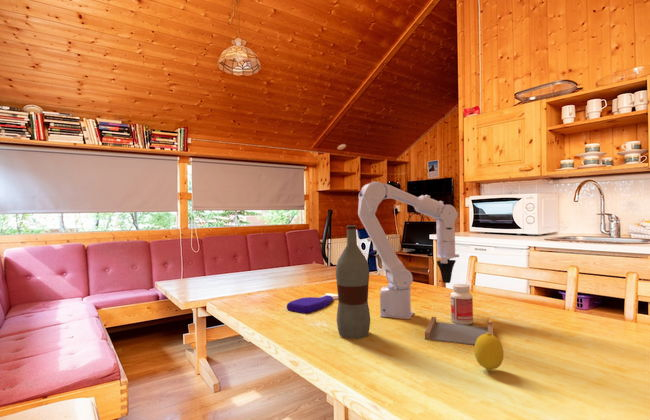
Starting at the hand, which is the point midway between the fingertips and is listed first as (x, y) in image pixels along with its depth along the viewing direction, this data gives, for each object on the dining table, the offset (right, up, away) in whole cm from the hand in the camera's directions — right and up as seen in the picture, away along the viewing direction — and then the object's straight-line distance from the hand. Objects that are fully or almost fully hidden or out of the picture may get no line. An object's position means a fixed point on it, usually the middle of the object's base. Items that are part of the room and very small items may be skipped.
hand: (446, 282), depth 119 cm
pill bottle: (+1, -10, -10) cm, 14 cm away
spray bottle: (-43, -12, +15) cm, 47 cm away
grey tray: (-3, -10, -20) cm, 23 cm away
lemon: (-6, -10, -43) cm, 45 cm away
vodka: (-32, -11, -19) cm, 39 cm away
